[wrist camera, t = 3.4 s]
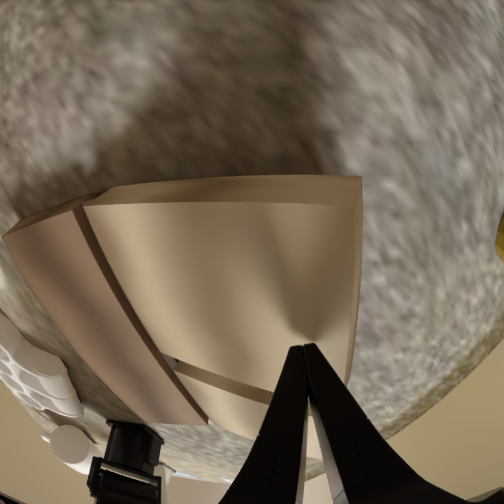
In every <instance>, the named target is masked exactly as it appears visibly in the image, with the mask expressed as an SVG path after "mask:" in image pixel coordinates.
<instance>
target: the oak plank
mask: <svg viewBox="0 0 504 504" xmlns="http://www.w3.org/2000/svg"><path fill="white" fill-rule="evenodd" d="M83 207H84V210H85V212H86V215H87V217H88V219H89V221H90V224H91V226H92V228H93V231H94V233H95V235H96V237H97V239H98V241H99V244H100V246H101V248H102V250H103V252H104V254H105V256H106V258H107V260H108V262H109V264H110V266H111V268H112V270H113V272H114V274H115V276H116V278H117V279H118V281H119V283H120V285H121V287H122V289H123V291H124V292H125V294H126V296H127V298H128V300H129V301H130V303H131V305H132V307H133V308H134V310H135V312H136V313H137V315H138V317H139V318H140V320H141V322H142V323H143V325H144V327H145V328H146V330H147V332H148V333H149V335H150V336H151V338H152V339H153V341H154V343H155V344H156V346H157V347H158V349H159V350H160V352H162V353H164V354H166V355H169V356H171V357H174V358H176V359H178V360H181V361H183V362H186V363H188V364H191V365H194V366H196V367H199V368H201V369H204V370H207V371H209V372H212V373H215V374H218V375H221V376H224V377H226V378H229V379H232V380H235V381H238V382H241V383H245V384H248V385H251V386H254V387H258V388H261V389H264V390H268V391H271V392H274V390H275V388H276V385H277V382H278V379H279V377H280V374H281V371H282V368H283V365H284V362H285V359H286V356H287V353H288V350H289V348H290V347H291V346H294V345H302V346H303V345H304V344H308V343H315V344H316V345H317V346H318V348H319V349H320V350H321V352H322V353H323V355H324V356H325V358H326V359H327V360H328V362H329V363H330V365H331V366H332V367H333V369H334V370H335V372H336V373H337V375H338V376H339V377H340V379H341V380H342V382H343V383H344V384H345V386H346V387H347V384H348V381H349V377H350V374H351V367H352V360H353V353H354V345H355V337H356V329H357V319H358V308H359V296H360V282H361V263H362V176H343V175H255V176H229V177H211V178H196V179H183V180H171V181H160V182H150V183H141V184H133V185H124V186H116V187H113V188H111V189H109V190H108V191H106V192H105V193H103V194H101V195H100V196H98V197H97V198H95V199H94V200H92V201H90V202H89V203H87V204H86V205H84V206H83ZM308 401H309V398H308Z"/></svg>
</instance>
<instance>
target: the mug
mask: <svg viewBox="0 0 504 504" xmlns="http://www.w3.org/2000/svg"><path fill="white" fill-rule="evenodd" d="M40 435H41V437H42V438H43V439H44V440H45V441H47V442H49V443H50V446H51V449H52V451H53V453H54V454H55V456H56V457H57V458H58V459H59V460H61V461H62V462H64V463H65V464H67V465H68V466H70V467H72V468H73V469H74V470H76V471H78V472H80V473H83V474H89V470H90V466H91V462H92V458H93V456H95V457H102V455H101V452H100V451H99V449H98V448H97V447H96V446H95V444H94V443H93V442H92V441H91V440H90V439H89V438H88V437H87V436H86V434H85V433H84V432H83V431H82V430H81V429H79V428H77V427H75V426H73V425H61V426H59V427H57V428H56V429H55V430H54V431H53V432H52V434H51V433H48V432H45V431H41V434H40Z"/></svg>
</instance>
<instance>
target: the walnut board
mask: <svg viewBox="0 0 504 504" xmlns="http://www.w3.org/2000/svg"><path fill="white" fill-rule="evenodd" d="M100 195H101V194H100V193H96V194H93V195H92V193H91V194H88V195H85V196H82V197H79V198H77V199H74V200H71V201H68V202H66V203H63V204H60V205H58V206H55V207H53V208H50V209H47V210H45V211H42V212H40V213H37V214H35V215H33V216H30V217H28V218H26V219H23V220H21V221H19V222H18V223H17V224H16V225H14V226H13V227H12V228H11V229H10V230H9V231H8V232H7V233H6V234H4V235H3V236H2V239H3V241H4V243H5V245H6V247H7V249H8V251H9V253H10V254H11V256H12V258H13V260H14V262H15V264H16V265H17V267H18V269H19V271H20V272H21V274H22V276H23V277H24V279H25V281H26V282H27V284H28V286H29V287H30V289H31V290H32V292H33V293H34V295H35V297H36V298H37V300H38V301H39V303H40V304H41V306H42V307H43V308H44V310H45V311H46V313H47V314H48V316H49V317H50V318H51V320H52V321H53V323H54V324H55V325H56V327H57V328H58V329H59V331H60V332H61V333H62V334H63V336H64V337H65V338H66V340H67V341H68V342H69V343H70V345H71V346H72V347H73V348H74V349H75V351H76V352H77V353H78V354H79V355H80V357H81V358H82V359H83V360H84V361H85V362H86V363H87V365H88V366H89V367H90V368H91V369H92V370H93V371H94V372H95V373H96V375H97V376H98V377H99V378H100V379H101V380H102V381H103V382H104V383H105V384H106V385H107V386H108V387H109V388H110V389H111V390H112V391H113V392H114V393H115V394H116V395H117V396H118V397H119V398H120V399H121V400H122V401H123V402H124V403H125V404H126V405H127V406H128V407H129V408H131V409H132V410H133V411H134V412H135V413H136V414H137V415H138V416H139V417H141V418H142V419H143V420H144V421H145V422H152V423H164V424H180V425H208V419H209V417H208V416H207V415H206V413H205V412H204V411H203V410H202V408H201V407H200V406H199V405H198V403H197V402H196V401H195V399H194V398H193V397H192V396H191V394H190V393H189V392H188V390H187V389H186V387H185V386H184V385H183V383H182V382H181V381H180V379H179V378H178V376H177V375H176V374H175V372H174V371H173V369H174V367H175V366H176V365H177V363H178V362H179V361H180V360H178V359H176V358H174V357H171V356H169V355H166V354H164V353H162V352H160V350H159V349H158V347H157V346H156V344H155V343H154V341H153V339H152V338H151V336H150V335H149V333H148V332H147V330H146V328H145V327H144V325H143V323H142V322H141V320H140V318H139V317H138V315H137V313H136V312H135V310H134V308H133V307H132V305H131V303H130V301H129V300H128V298H127V296H126V294H125V292H124V291H123V289H122V287H121V285H120V283H119V281H118V279H117V278H116V276H115V274H114V272H113V270H112V268H111V266H110V264H109V262H108V260H107V258H106V256H105V254H104V252H103V250H102V248H101V246H100V244H99V241H98V239H97V237H96V235H95V233H94V231H93V228H92V226H91V224H90V221H89V219H88V217H87V215H86V212H85V210H84V207H83V206H84V205H86V204H87V203H89V202H90V201H92V200H94V199H95V198H97V197H98V196H100Z"/></svg>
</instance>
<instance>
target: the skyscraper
mask: <svg viewBox="0 0 504 504" xmlns="http://www.w3.org/2000/svg"><path fill="white" fill-rule="evenodd" d="M173 472H174V473H176V471H175V470H174V469H172V468H170V467H169V466H167V465H166V464H164V463H158V466H155V468H154V474H153V475H155V476H161V477H162V482H161V504H168V492H167V484H168V482H169V479H170V477H171V475H172V473H173ZM143 482H146V483H149V481H145V480H143Z"/></svg>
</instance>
